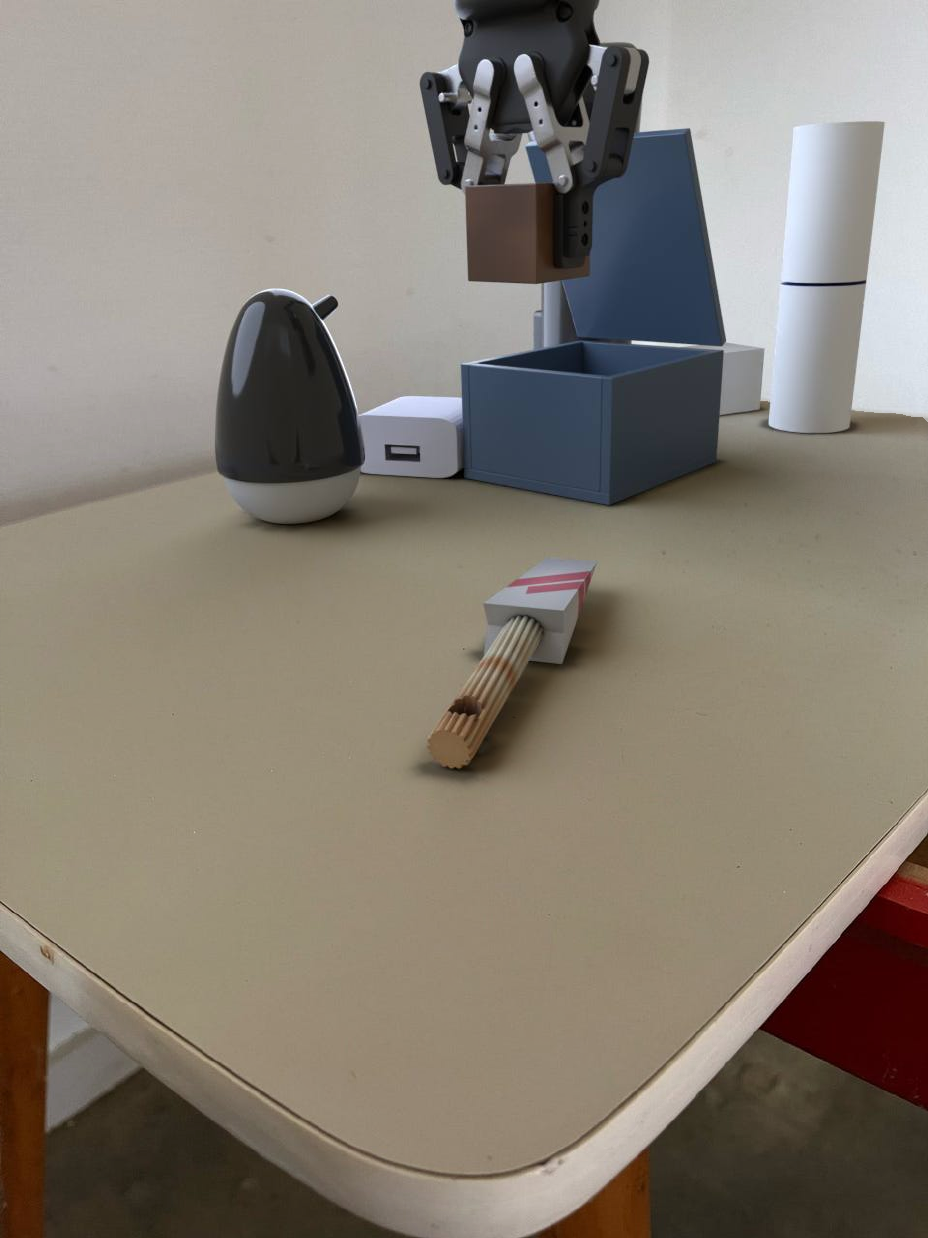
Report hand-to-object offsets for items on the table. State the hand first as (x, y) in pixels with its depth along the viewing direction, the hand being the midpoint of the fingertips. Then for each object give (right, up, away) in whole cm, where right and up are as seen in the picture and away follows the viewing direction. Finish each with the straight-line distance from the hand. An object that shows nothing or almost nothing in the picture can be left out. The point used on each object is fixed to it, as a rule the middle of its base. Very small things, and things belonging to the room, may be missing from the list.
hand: (528, 265), depth 56 cm
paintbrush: (-1, -22, -10) cm, 25 cm away
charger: (-6, -6, +29) cm, 31 cm away
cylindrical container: (+28, -2, +36) cm, 46 cm away
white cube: (+22, +1, +45) cm, 50 cm away
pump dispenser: (-15, -13, +14) cm, 24 cm away
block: (0, -1, 0) cm, 1 cm away
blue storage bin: (+7, -8, +23) cm, 25 cm away
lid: (+9, +8, +19) cm, 23 cm away
